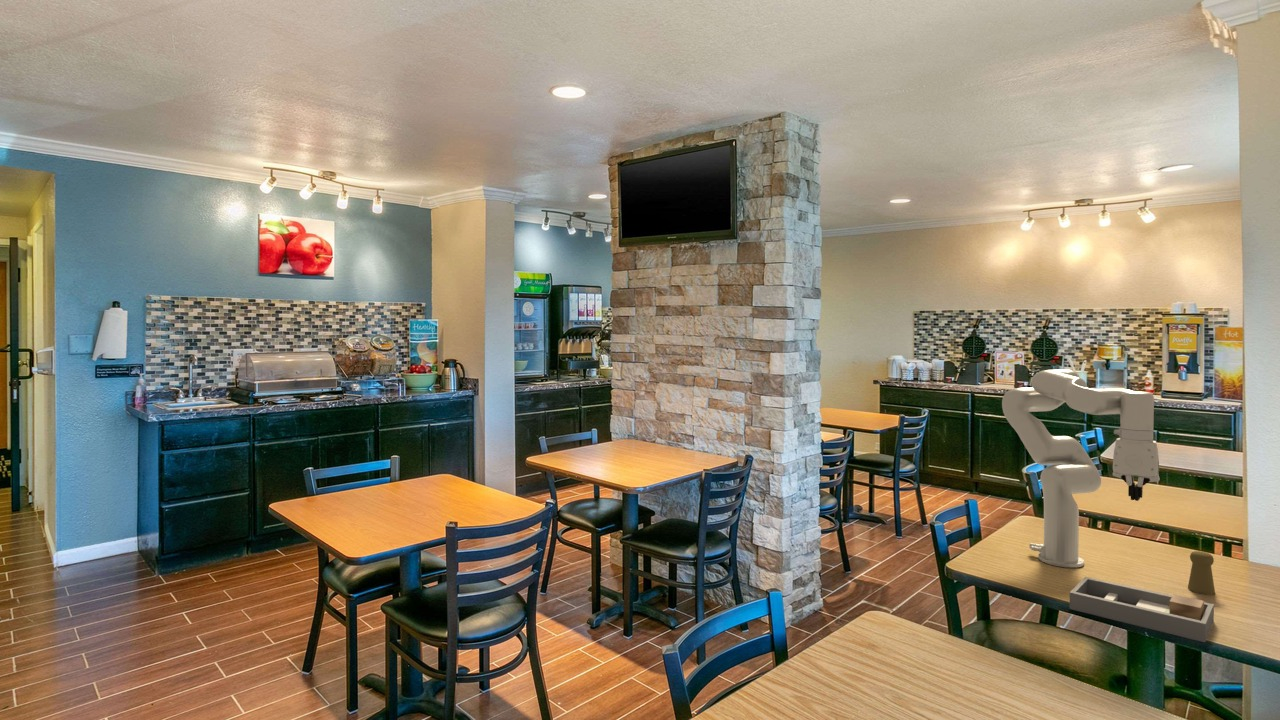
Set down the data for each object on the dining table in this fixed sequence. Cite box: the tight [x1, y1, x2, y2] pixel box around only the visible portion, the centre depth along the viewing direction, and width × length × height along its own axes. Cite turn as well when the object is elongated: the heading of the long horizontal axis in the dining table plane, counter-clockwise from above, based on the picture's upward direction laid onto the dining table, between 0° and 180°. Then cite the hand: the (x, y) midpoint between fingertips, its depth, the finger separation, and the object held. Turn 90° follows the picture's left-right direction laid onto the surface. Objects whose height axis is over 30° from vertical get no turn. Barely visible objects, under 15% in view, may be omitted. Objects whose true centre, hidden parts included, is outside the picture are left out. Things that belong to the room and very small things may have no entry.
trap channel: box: [1069, 576, 1215, 643], centre depth 174 cm, size 28×16×4 cm, turn 44°
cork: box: [1187, 550, 1216, 596], centre depth 189 cm, size 6×6×11 cm
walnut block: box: [1169, 594, 1205, 621], centre depth 167 cm, size 6×6×4 cm
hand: (1135, 499), depth 188 cm, fingers closed
